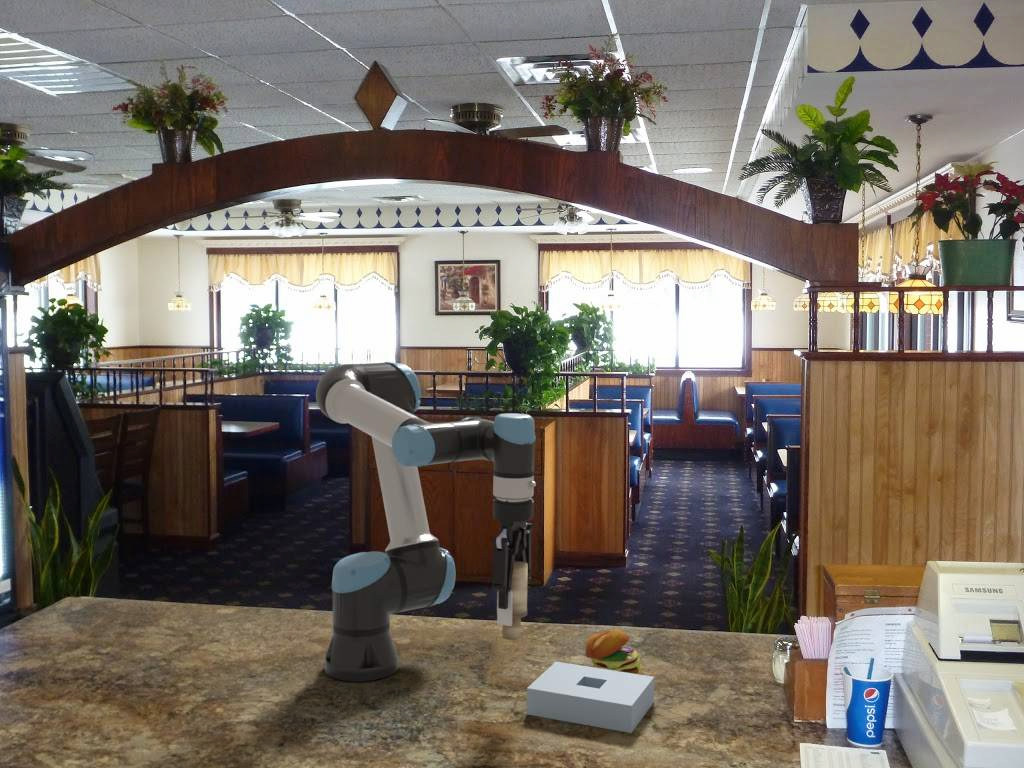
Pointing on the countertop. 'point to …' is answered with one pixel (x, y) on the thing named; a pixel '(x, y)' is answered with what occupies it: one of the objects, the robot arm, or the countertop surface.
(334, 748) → the countertop surface
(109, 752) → the countertop surface
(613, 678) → the board
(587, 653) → the cheeseburger
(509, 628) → the peg
